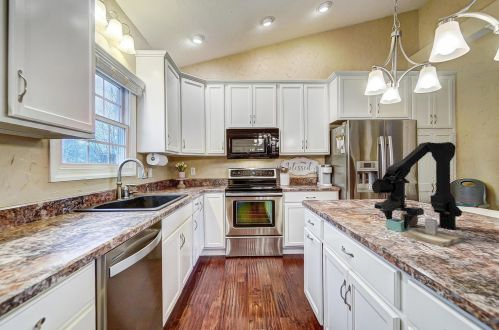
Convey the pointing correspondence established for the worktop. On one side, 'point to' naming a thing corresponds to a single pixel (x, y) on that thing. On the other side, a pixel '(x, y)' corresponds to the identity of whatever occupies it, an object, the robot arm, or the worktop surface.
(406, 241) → the worktop surface
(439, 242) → the board
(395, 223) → the teal open cube
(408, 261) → the worktop surface
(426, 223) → the grey rectangular peg
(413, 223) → the vase
